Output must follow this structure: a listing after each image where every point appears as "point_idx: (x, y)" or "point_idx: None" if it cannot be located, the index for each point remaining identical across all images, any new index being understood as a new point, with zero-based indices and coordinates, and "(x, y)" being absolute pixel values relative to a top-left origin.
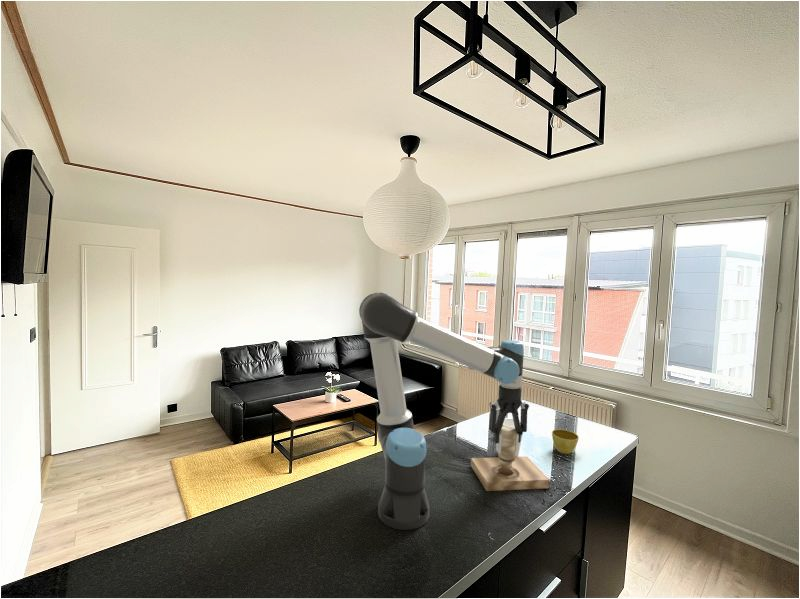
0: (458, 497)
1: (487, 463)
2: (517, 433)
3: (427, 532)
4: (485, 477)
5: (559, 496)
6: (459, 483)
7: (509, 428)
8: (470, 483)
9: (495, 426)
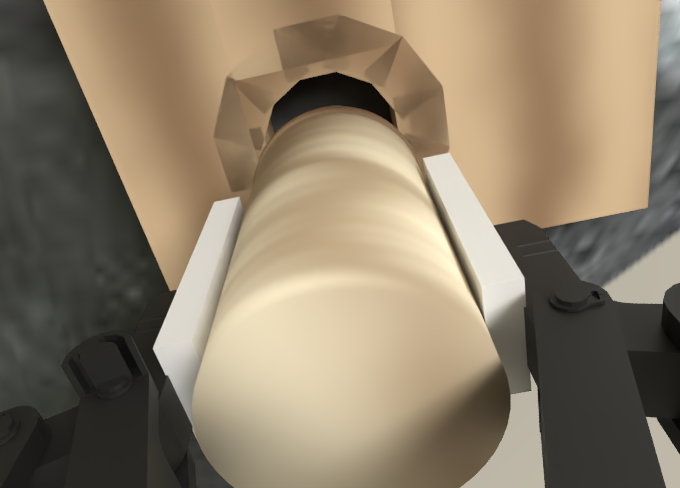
0: (27, 343)
1: (184, 16)
2: (526, 360)
3: None
4: (164, 246)
5: (632, 257)
6: (3, 211)
7: (401, 370)
8: (78, 201)
9: (79, 469)
